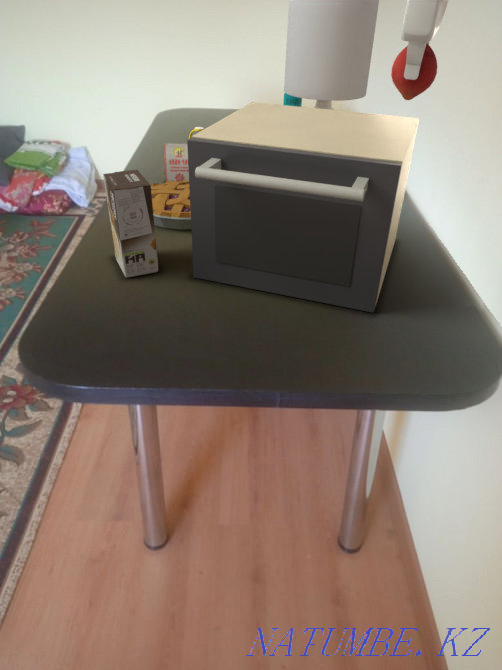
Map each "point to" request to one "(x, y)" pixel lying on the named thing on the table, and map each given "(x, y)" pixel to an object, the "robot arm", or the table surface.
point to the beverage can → (292, 100)
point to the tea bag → (176, 162)
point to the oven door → (291, 220)
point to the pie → (171, 205)
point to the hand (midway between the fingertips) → (413, 74)
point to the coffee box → (132, 222)
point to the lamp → (329, 49)
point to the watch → (195, 130)
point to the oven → (325, 139)
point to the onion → (424, 79)
